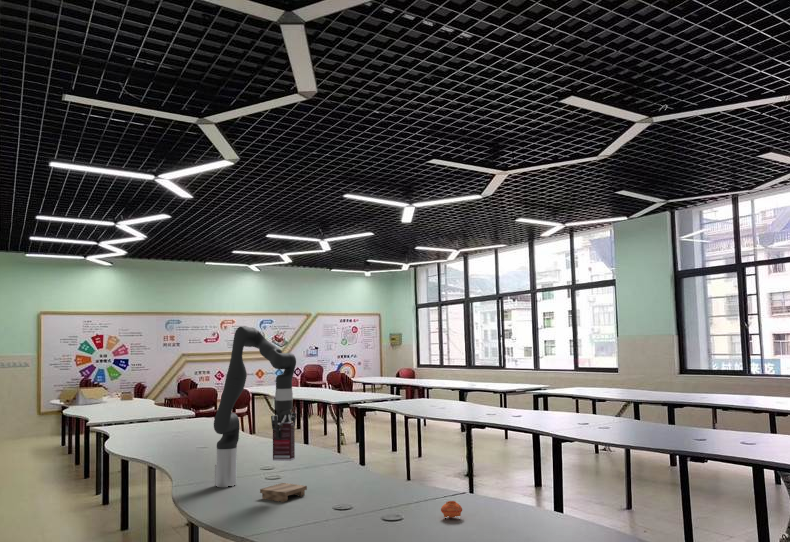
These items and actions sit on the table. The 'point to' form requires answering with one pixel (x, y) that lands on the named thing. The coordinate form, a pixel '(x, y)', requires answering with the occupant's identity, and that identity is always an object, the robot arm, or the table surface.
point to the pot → (451, 509)
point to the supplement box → (284, 443)
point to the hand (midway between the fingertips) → (283, 438)
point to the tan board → (282, 491)
